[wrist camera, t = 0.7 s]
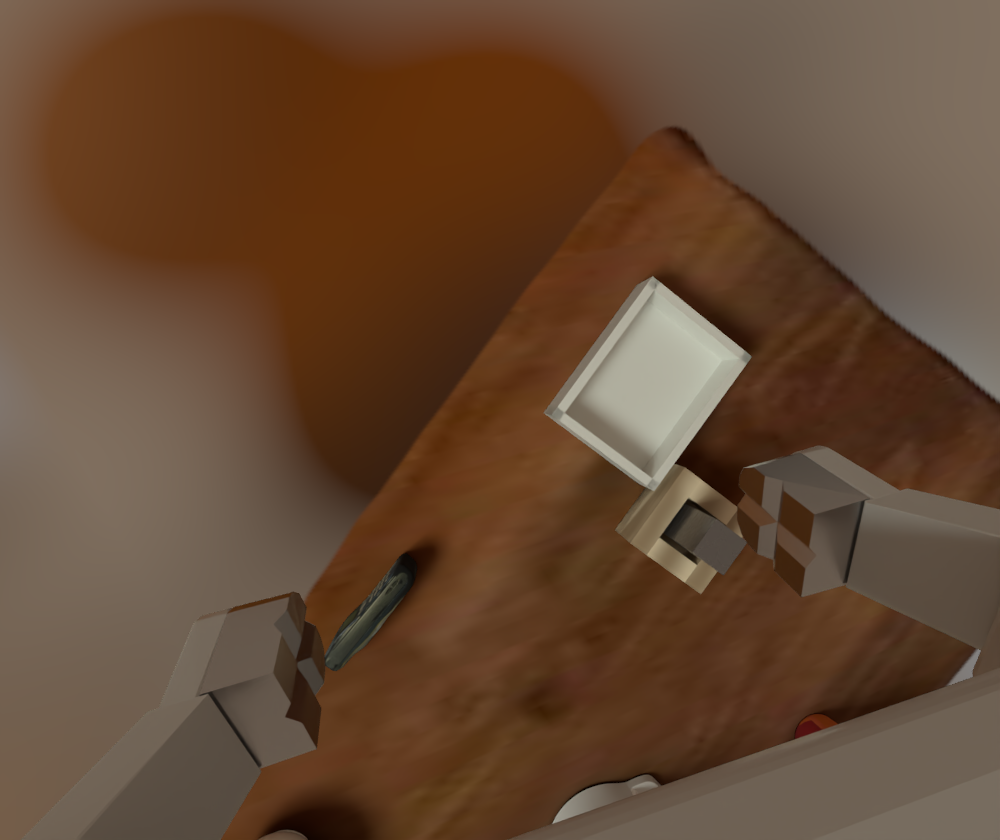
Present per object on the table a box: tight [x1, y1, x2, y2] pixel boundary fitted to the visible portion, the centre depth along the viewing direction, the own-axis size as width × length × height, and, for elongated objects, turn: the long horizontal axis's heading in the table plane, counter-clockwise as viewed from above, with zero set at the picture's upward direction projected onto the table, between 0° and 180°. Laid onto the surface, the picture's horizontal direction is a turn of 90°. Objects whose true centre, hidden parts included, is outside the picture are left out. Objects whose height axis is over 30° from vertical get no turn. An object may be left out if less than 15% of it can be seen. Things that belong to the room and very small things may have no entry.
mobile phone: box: [325, 554, 417, 671], centre depth 54 cm, size 5×3×15 cm
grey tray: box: [544, 276, 752, 491], centre depth 56 cm, size 14×18×4 cm
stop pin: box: [663, 503, 747, 575], centre depth 54 cm, size 4×4×9 cm
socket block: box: [615, 464, 743, 594], centre depth 57 cm, size 10×10×5 cm
